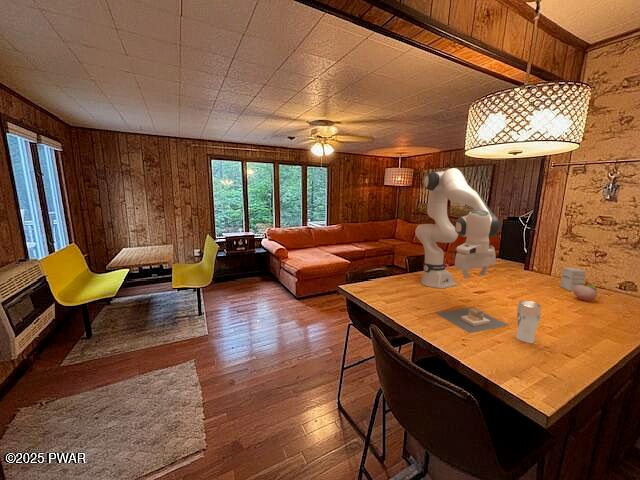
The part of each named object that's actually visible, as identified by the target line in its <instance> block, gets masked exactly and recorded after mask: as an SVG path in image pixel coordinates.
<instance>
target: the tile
mask: <svg viewBox="0 0 640 480" xmlns="http://www.w3.org/2000/svg"><path fill="white" fill-rule="evenodd" d="M461 320H462V321H464V322H466V323H468V324H469V325H471V326H473V327H476V326H481V325H487V324H490V320H488V319H486V318H484V317H483V320H479V321H475V320H473V319H471V318H469V317H468V315H467V316H461Z"/></svg>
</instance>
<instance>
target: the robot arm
mask: <svg viewBox="0 0 640 480" xmlns="http://www.w3.org/2000/svg"><path fill="white" fill-rule="evenodd" d="M423 180H424V181H423V185H424V188H425V189H426V190H428V196H427V211H426V212H427V215H428V217H429V218H431V219H433V221H434V223H435V224H433V223H421V224H419V225H417V226H416V228H415V230H414V231H415V232H414V233H415V236H416V238H417V239H418V240H419V241H420V242H421V244H422V246H423V250H424V262H423V272H422V277H421V281H420V284H421V285H423V286H427V287H429V288H437V289H443V290H444V289H446V288H450V287H455V286H458V283H457V282H456V280H455V281H454V275H453V274H452V273H451V272H450V271H448V270H447V269H446V268H449V264H448V263H444V259H445V258H444V257H445V252H444V250H443V248H441V247H439V246H438V244H437V243H444V244H449V243H455V241H456V240H457V239H458V237H459V236H460V237H464V238H465V237H466V240H465V242H464V243H462V244H460V245H458V246H457V247H456V254H455V257H454V259H455V260H454V268H456V270H460V271H462V274H463V279H466V280H467V279H470V275H471V274H469V273H468V272H469V270H472V269H478V268H482V269H481V270H479V275H480V276H481V277H484V276H487V275H486V274H487V271H488V269H489V267H491V266H495V264H496V262H497V259H496V257H497V255H496V249H495V247H494V245H490V239H489V238H493V237H495V236H496V235H497V234H499V232H500V230H501V225H502V224H501V222H500V220H499V218H498V217H497V216H496V215H495V214H494V213H493V212H492V210H491V208H489V206H488V205H487V203H486V201H485V199H484V198H483V196H482V195H481V194H480V193H479V192H477V191H476V190H474V188H472V187H471V186H470V185H469V184H468V183H467V180H466V175H465V173H464V172H462V171H460V170H459V168H456V167H453V168H448V169H447V170H443V171H431V172H428V173H427V174H426V175H425V177H424V179H423ZM448 201H450V202H453V203H457V204H462V205H465V206H469V207H471V208H473V210H470V211H469V212H468V214H467V215H463V216H460V217H459V218H458V219H457V220H456V222H455V226H454V225H453V223H452V222H451V221H450V219H449V216H448Z"/></svg>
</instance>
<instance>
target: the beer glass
mask: <svg viewBox="0 0 640 480" xmlns="http://www.w3.org/2000/svg"><path fill="white" fill-rule="evenodd" d="M517 305H518V306H517V310H516V322H517V330H516V331H517V332H516V334H515V338H516V339H517V340H518V341H521V342H523V343H527V344H530V345H534V344H536V337H535V335H536V331H537V328H538V326H539V324H540V319H541V310H542V307H541V305H540V304H539V303H537V302H534V301H528V300H519V301H518V304H517Z"/></svg>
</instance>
